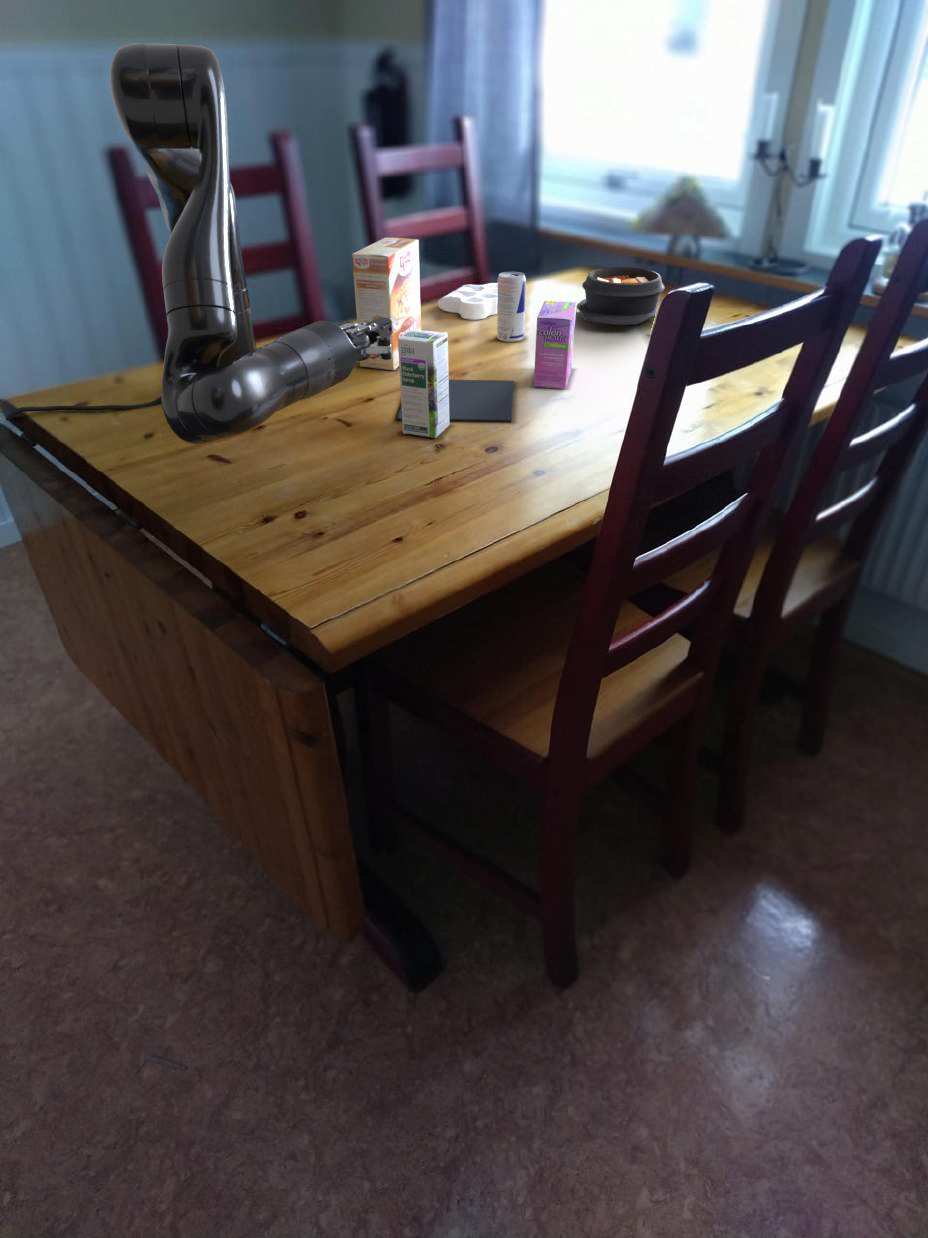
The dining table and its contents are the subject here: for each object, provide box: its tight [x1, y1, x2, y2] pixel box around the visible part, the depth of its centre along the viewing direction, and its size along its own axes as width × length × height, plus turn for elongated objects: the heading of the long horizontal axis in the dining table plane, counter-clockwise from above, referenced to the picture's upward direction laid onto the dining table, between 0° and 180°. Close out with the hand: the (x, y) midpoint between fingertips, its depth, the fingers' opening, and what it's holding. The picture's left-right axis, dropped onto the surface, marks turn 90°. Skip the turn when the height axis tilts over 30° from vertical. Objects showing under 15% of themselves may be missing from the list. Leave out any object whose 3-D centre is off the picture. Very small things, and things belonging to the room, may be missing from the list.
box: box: [533, 300, 578, 390], centre depth 146 cm, size 10×6×12 cm, turn 168°
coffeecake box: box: [351, 236, 422, 371], centre depth 154 cm, size 15×7×20 cm, turn 162°
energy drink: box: [496, 271, 527, 343], centre depth 165 cm, size 5×5×12 cm
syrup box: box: [398, 329, 450, 439], centre depth 126 cm, size 6×6×14 cm
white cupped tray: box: [437, 282, 498, 321], centre depth 186 cm, size 3×18×15 cm
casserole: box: [576, 266, 666, 326], centre depth 177 cm, size 25×19×8 cm
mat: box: [396, 379, 514, 423], centre depth 140 cm, size 18×18×1 cm
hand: (387, 325), depth 114 cm, fingers closed
